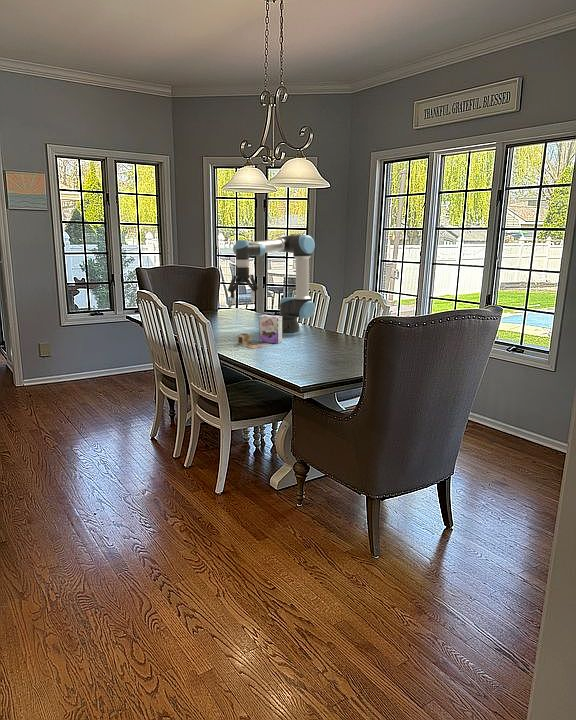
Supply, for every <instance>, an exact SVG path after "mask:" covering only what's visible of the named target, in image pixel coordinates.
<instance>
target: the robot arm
mask: <svg viewBox="0 0 576 720" xmlns="http://www.w3.org/2000/svg"><path fill="white" fill-rule="evenodd" d="M315 244H316V243H315V240H314V239H313V237H312V236H310V235H307V234H289V235H285V236H279V237H276V238H275V239H267V240H258V241H249V240H248V239H245V240H244V239H240V240H239V239H236V241H235V243H234V244H233V247H232V251H233V254H234V255H235V261H236V262H235V263H236V264H235V265H236V266H235V267H236V275H231V281H230V283H229V286H228V289H227V292H229V293H230V298H231V304H234V305H236V292H235V291H236V290H237V288H238V287H239V286H240V284H242V283H243V284H244V283H245V284H247V285H248V287H249V288H250V289H251V290H250V301H251V302H252V303H255V297H256V291H257V290H259V287H258V285H257V282H256V280H255V278H254V277H255V276H254V274H250V257H262V256H264V254H266V253H273V252H277V253H278V252H279V253H290V254H291V253H292V256H293V258H294V259H295V296H292V297H291V296H290V297H289V296H288V297H282V298H280V299H279V316H282V333H289V334H290V333H297V332H300V325H299V322H298V318H300V319H310V318H311V317H312V316H313V315H314V313H315V310H316V306H315V303H314V302H313V301H312V297H311V296H310V258H311V257H312V253H313V252H314V250H315V247H316V245H315Z"/></svg>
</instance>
